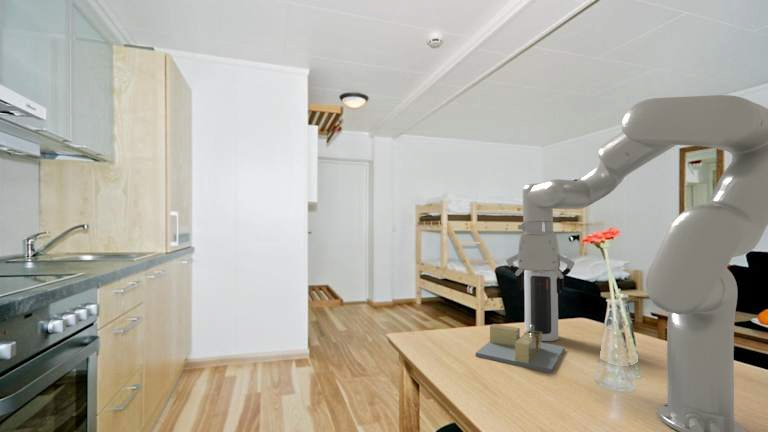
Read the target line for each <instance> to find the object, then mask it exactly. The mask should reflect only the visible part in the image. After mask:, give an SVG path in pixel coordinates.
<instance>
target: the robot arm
mask: <svg viewBox="0 0 768 432" xmlns="http://www.w3.org/2000/svg"><path fill="white" fill-rule="evenodd" d="M676 146H687V147H688V146H689V147H690V146H692V147H702V148H703V147H704V148H705V147H706V148H711V149H714V150H715V149H716V150H719V151H725V152H727V153H730V154H731V156H732V158H731V162H730V164H729V165H728V166H727V168H726V169H724V170H725V171H723V173H722V174H721V176H720V178H719V179H718V182H717V184H716V186H715V188H714V190H713V192H712V193H711V196H710V198H709V199H708V201H707V202H706V203H702V204H698V205H694V206H691V207H689V208H687V209H685V210H683V211H682V212H680V214H679V215H677V216H676V217H675V219H674V220H673V221H672V223H671V224H670V226H669V227H668V230H667V232H666V233H665V236H664V237H663V240H662V241H661V243H660V245H659V248H658V250H657V253H656V254H655V256H654V259H653V261H652V263H651V264H650V267H649V269H648V271H647V274H646V277H645V288H646V293H647V296H648V297H649V299H650V301H652V303H653V304H654V305H655V306H656V307H658V308H659V309H660V310H663V311H664V312H667V313H668V316H667V328H666V329H667V330H666V332H667V334H666V338H667V339H666V349H667V351H666V352H667V353H666V354H667V355H666V357H667V361H666V362H667V363H666V366H667V367H666V369H667V371H666V372H667V373H666V374H667V382H666V383H667V403H666V402H665V403H662V404H660V405H659V406H658V408H657V416H658V417H659V419H660V420H661V421H662V422H664V423H665V424H666V425H667V426H669V427H671V429H674V430H676V431H678V432H747V431H746V429H745V428H744V426H742V425H741V424H740V423H739V422H737V421H736V420H735V385H734V384H735V380H734V379H735V378H734V377H735V376H734V375H735V372H734V371H735V369H734V368H735V367H734V366H735V365H734V363H735V362H734V361H735V358H734V357H735V356H734V353H735V352H734V351H735V345H734V344H735V340H734V339H735V337H734V336H735V316H736V310H737V309H736V308H737V305H738V285H737V281H736V279H735V277H734V275H733V273H732V272H731V271H730V270H729V269H728V266H729V264H730V262H731V261H732V259H733V258H735V257H736V258H737V257H741V256H744V255H745V254H748V253H750V252H751V251H753V250H754V249H755V248H756V247H757V245H758V243H759V242H760V240H761V239H762V236H763V234H764V233H765V230H766V229H767V227H768V107H765V106H763V105H761V104H758V103H757V102H753V101H751V100H749V99H747V98H744V97H741V96H736V95H728V94H717V95H716V94H715V95H712V94H711V95H697V96H695V95H693V96H674V97H669V96H668V97H654V98H647V99H645V100H641V101H639V102H638V103H635V104H634V105H633V106H631V107H630V108H629V109H628V110H627V112H626V113H625V114H624V116H623V118H622V121H621V132H619V133H617V135H615V136H614V137H613V138H612V139H610V140H608V141H606V143H603V144H602V145H601V146H600V147H599V148H598V152H597V153H598V158H599V160H600V162H599V163H598V165H597V166H596V167H595V168H594V169H593V170H591V171H590V172H589V173H587V174H586V175H584V176H583V177H581V178H579V179H578V180H572V179H560V178H558V179H557V178H556V179H551V180H547V181H544V182H537V183H529V184H525V186H523V188H522V216H523V217H522V218H523V219H522V220H523V221H522V224H518V226H517V228H518V230H521V231H522V233H520V236H519V241H518V254H516V255H514V256H511V257H509V258H507V259H505V261H506V263H507V265H508V267H509V270H510V271H512V273H514V276H516V288H518V291H523V290H524V274H523V273H524V271H525V270H534V271H553V272H554V273H555V274H556V275H557V277H558V278H557V279H556V284H557V293H558V295H561V294H562V291H565V289H564V287H565V285H564V278H565V277H566V276H567V275H568V274H569V273H570V272H571V271H572V269H573V268H574V266H575V264H576V263H575V261H573V260H571V259H569V258H568V257H565V256H564V255H562V254H560V248H559V241H558V238H557V234H556V233H554V217H553V215H554V212H553V211H554V209H555V210H557V209H558V210H580V209H585V208H587V207H589V206H591V205H593V204H594V203H596V202H598V201H600V200H601V199H604V198H605V197H607V195H610V194H611V193H612V192H614V190H615V189H616V188H617V187H618V186H619V185H620V184H621V183H622V182H623V181H624V179H625V177H627V176H628V175H629V174H631V173H633V172H634V171H636V170H638V169H639V168H640V167H642V166H644V165H645V164H647V163H649V162H650V161H652V160H654V159H655V158H658V157H659V156H661V155H662V154H665V153H666V152H667V151H669V150H671V149H672V148H674V147H676ZM515 261H517V264H518V268H517V266H516V265H515V264H514V262H515ZM561 262H562V263H565V264H566V267H565V269H564V270H561V269H560V267H561Z"/></svg>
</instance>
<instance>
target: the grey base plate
mask: <svg viewBox="0 0 768 432" xmlns="http://www.w3.org/2000/svg"><path fill="white" fill-rule="evenodd" d="M564 352H565V346H561V345H556V344H551V343H547V342H546V343H545V342H541V349H540V350H539V352H536V356H535V357H534V358H533V359H532V360H531V362H530V363H529V364H527V363H522V362H518V361H515V348H514V347H509V346H504V345H499V344H494V343H490V340H489V341H488V342H486V343H485V344H484V345H483V346H482V347H480V348H479V349H478V350H477V351H476V352H475V357H478V358H483V359H486V360H492V361H497V362H501V363H504V364H505V363H506V364H509V365H513V366H518V367H523V368H527V369H532V370H537V371H539V372H540V371H541V372H545V373H549V374H552V373H553V371H554V370H555V368H556V366H557V364H558V363H559V361H560V359H561V357H562V355H563V353H564Z"/></svg>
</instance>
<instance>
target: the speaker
mask: <svg viewBox="0 0 768 432" xmlns="http://www.w3.org/2000/svg"><path fill="white" fill-rule="evenodd" d="M523 273H524V274H523V276H524V289H523V290H524V333H525V332H526V331H527V330H530V325H534V331H539V332H542V341H541V342H543V343H545V342H546V343H547V342H556V341H558V340H559V294H558V293H557V284H556V279H557V278H558V276H557V275H556V274H555V273H554V272H553V271H534V270H525V271H524V272H523Z"/></svg>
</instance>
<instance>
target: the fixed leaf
mask: <svg viewBox="0 0 768 432" xmlns="http://www.w3.org/2000/svg"><path fill="white" fill-rule="evenodd" d="M520 329H521V328H520V327H516V326H515V327H514V326H507V325H504V324H497V323H492V325H490V326H489V341H490V343H494V344H499V345H504V346H509V347H514V348H515V342H516V341H517V340H518V339H519V338H520V337H521V333H520ZM530 333H532V334H534V325H530ZM541 343H542V341H541V342H540V343H539V344H536V352H539V350H540V349H541Z"/></svg>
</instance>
